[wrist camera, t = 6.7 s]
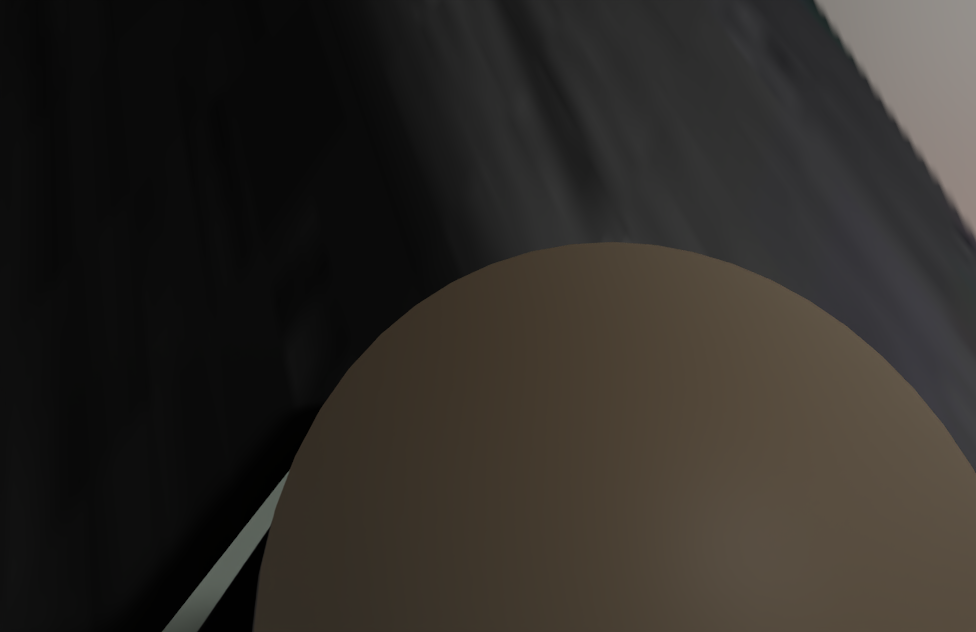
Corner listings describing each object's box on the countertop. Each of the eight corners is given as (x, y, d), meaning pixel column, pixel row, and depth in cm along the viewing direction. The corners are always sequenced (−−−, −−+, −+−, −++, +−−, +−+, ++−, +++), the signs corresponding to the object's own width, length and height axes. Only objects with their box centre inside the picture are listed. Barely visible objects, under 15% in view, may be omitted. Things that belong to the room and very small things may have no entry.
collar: (448, 902, 18) (458, 943, 16) (151, 675, 19) (122, 683, 17) (619, 565, 22) (647, 558, 20) (369, 394, 23) (368, 369, 21)
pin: (463, 763, 13) (957, 1542, 2) (307, 647, 14) (-5, 760, 2) (558, 588, 15) (1131, 480, 4) (416, 489, 15) (535, 116, 4)
